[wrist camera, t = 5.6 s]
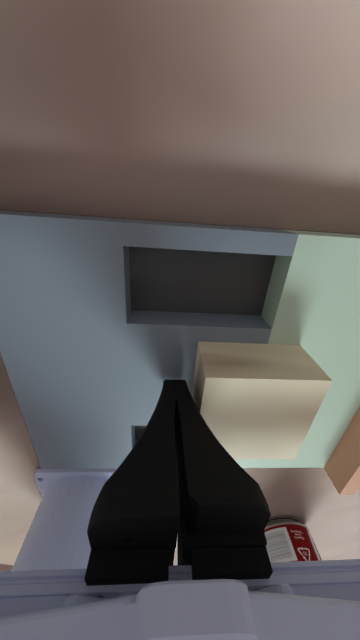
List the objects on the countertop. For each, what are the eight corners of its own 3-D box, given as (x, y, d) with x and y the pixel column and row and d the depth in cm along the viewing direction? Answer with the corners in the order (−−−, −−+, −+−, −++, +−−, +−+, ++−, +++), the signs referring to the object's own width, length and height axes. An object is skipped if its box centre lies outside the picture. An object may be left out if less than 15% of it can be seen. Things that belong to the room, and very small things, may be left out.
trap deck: (323, 445, 21) (354, 494, 18) (52, 444, 20) (26, 498, 16) (435, 239, 13) (535, 254, 9) (-16, 209, 11) (-99, 213, 8)
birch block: (274, 416, 16) (294, 459, 14) (188, 415, 16) (193, 459, 13) (300, 345, 13) (332, 380, 11) (198, 341, 13) (205, 377, 10)
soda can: (244, 523, 28) (291, 726, 17) (300, 509, 27) (388, 715, 16) (258, 544, 31) (306, 729, 20) (309, 533, 30) (388, 720, 19)
